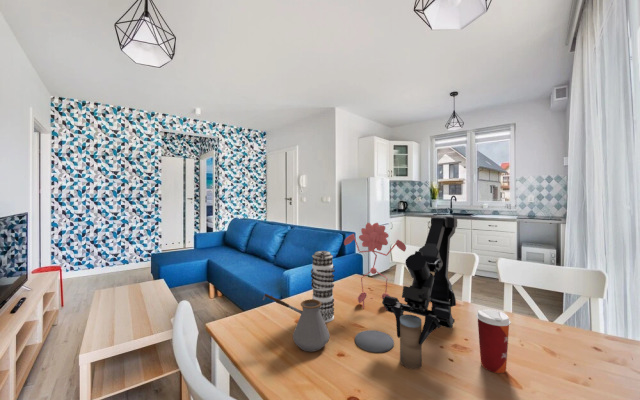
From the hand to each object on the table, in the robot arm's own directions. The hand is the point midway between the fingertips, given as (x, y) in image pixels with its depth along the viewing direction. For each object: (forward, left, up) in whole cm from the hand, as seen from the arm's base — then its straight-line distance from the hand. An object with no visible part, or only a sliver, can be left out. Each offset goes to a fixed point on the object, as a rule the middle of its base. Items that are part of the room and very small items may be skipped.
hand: (408, 340), depth 71 cm
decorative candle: (+10, -36, -7) cm, 38 cm away
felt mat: (+2, -14, -7) cm, 15 cm away
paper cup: (-20, +9, -7) cm, 23 cm away
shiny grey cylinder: (-1, -1, -7) cm, 7 cm away
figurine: (-16, -40, -7) cm, 43 cm away
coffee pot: (+25, -23, -7) cm, 34 cm away
